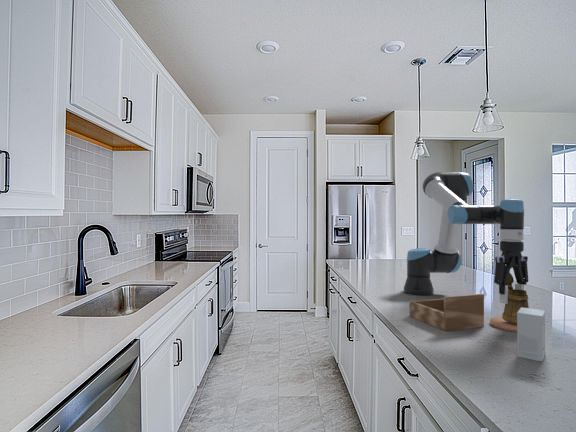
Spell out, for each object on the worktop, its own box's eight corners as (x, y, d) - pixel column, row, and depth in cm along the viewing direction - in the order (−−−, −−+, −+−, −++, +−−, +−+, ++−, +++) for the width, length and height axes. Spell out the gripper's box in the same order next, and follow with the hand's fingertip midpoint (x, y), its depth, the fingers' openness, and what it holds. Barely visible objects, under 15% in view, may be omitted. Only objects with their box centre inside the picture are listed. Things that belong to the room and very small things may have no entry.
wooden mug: (511, 313, 143) (512, 267, 143) (537, 324, 129) (538, 273, 129) (490, 313, 142) (490, 268, 142) (513, 324, 129) (513, 273, 129)
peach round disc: (481, 322, 140) (481, 318, 140) (508, 319, 144) (508, 315, 144) (514, 333, 127) (514, 329, 127) (543, 329, 131) (543, 325, 131)
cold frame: (409, 316, 149) (409, 286, 149) (443, 312, 154) (444, 284, 154) (446, 331, 129) (446, 297, 129) (483, 326, 135) (483, 294, 135)
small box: (520, 348, 112) (520, 306, 112) (545, 353, 108) (545, 310, 108) (516, 356, 106) (516, 312, 106) (542, 362, 102) (542, 316, 102)
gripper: (500, 242, 129) (500, 306, 129) (540, 240, 135) (540, 302, 135) (482, 240, 136) (482, 301, 136) (521, 239, 142) (521, 298, 142)
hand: (511, 302), depth 136 cm, fingers closed on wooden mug, 7 cm apart
